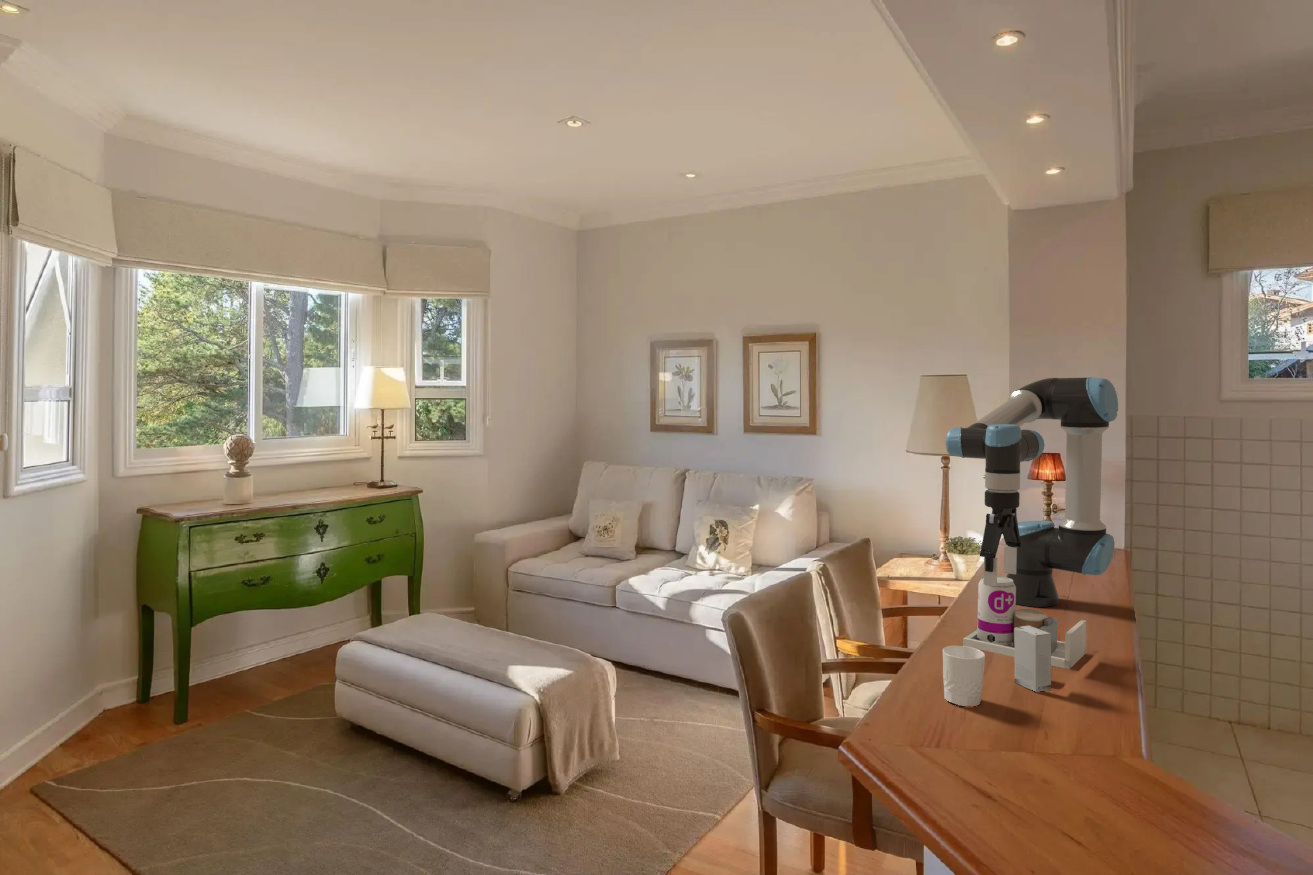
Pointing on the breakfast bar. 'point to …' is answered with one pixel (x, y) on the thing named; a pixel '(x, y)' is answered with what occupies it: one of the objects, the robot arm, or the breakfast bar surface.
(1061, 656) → the lane
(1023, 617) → the jar
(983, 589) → the supplement can
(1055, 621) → the pusher
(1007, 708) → the breakfast bar surface
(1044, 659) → the skincare box
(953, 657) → the white cup
